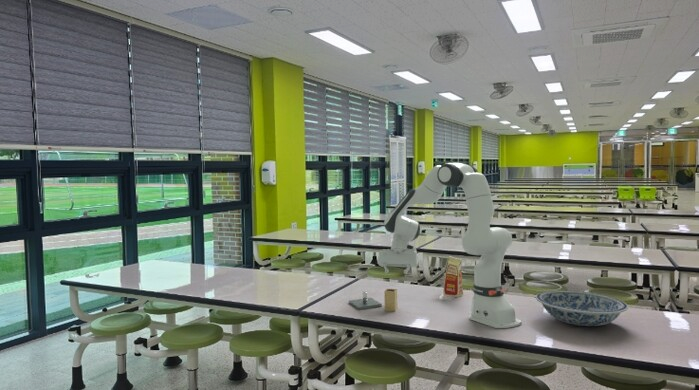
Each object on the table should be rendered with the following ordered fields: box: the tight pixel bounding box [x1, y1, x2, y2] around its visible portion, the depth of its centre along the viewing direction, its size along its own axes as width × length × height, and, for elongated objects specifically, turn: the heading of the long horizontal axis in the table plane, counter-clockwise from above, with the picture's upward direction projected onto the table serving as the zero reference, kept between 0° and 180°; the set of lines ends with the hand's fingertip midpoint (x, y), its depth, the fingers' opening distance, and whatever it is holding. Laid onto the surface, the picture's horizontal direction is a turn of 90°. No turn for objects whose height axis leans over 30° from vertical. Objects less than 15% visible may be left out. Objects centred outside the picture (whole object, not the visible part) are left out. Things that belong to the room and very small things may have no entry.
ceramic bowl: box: [535, 290, 629, 327], centre depth 192 cm, size 34×34×10 cm
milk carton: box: [442, 255, 464, 298], centre depth 238 cm, size 9×9×20 cm
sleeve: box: [384, 288, 398, 312], centre depth 216 cm, size 5×5×9 cm
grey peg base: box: [348, 291, 382, 311], centre depth 224 cm, size 12×12×6 cm
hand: (395, 273), depth 226 cm, fingers open, 8 cm apart
